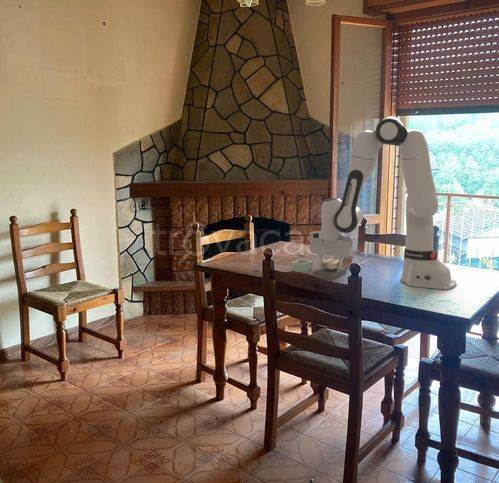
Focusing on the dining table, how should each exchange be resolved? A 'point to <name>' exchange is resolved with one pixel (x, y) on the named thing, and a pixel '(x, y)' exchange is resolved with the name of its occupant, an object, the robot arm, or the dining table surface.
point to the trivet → (330, 273)
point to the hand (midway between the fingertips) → (331, 264)
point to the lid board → (329, 264)
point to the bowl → (302, 266)
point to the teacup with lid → (345, 261)
